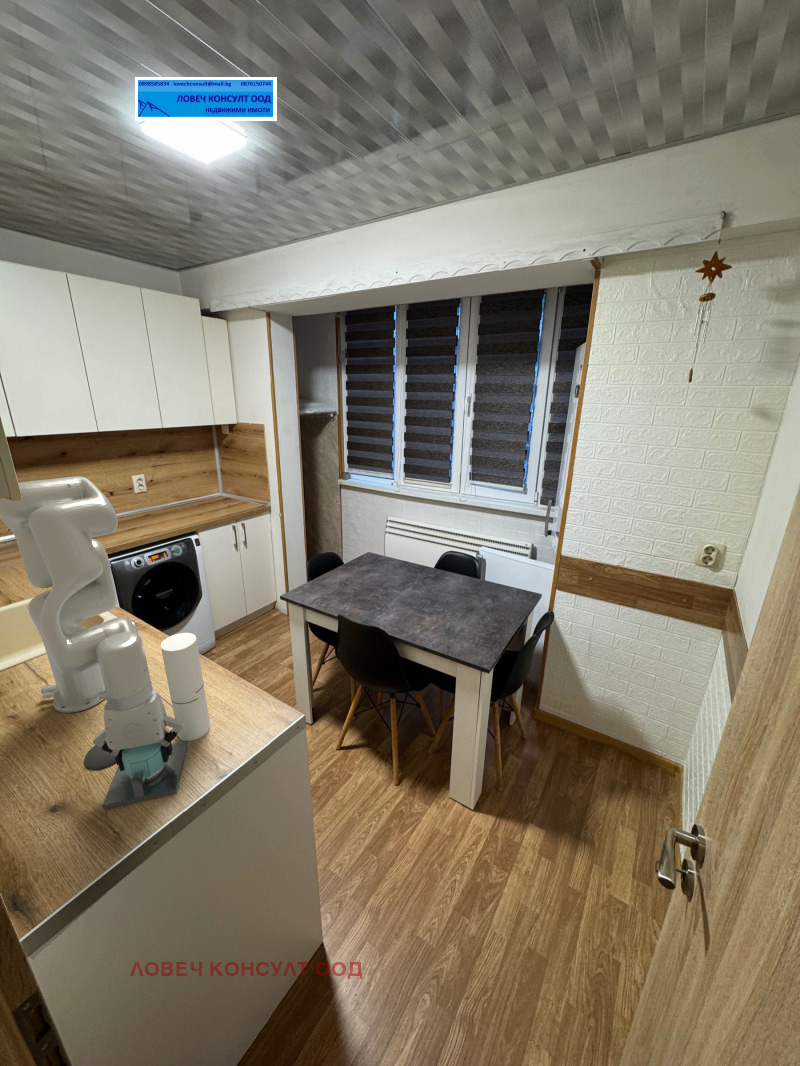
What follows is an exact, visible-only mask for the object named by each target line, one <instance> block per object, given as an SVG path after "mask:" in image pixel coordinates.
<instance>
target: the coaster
mask: <svg viewBox="0 0 800 1066" xmlns="http://www.w3.org/2000/svg"><path fill="white" fill-rule="evenodd" d="M84 764H85V767H87V768H88V769H90V770H102V769H105V768H108V767H111V766H113V765H114V764H116V760H115V757H113V756H111V753H109V752H107V751H104V750H102V747H99V746H97V745H95V744H94V745H93V746H92V747H91V748H90V749H89V750H88V751H87V752H86V754H85V756H84Z"/></svg>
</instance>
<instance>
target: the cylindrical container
mask: <svg viewBox="0 0 800 1066" xmlns="http://www.w3.org/2000/svg"><path fill="white" fill-rule="evenodd" d="M197 639H198V638H197V636H196V634H194V633H191V632H181V633H175V634H173V635H170V636H168V637H166V638H164V639H163V640H162V642H161V643H160V648H161V655H162V660H163V666H164V670H165V675H166V679H167V685H168V690H169V694H170V695H169V697H170V700H171V705H172V706H171V707H172V711H173V712H172V713H173V715H174V717H173V718H174V719H177V720H180V721H183V722H184V724H183V727H182V729H181V730H180V732H179V733H178V734H177V736H178V738H179V739H180V740H181V741H188V742H192V741H195V740H198V739H200V738H202V737H203V736H205V735H206V734H207V733H208V732H209V730H210V729H211V721H210V716H209V715H210V714H209V708H208V703H207V696H206V689H205V685H204V678H203V671H202V666H201V659H200V652H199V647H198V641H197Z"/></svg>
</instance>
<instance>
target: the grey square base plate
mask: <svg viewBox="0 0 800 1066" xmlns="http://www.w3.org/2000/svg"><path fill="white" fill-rule="evenodd" d="M188 742H189V741H184V740H182V741H179V742H174V743H171V744H172V755H169V759H168V762H165V765H164V766H163V767H162V768H161V769H160V770H158V771H157V772H156V773H154V774H153V775H152V776H150V777H146V778H145V779H144V782H143V780H142V779H143V776H144V771H141V772H136V773H134V776H133V778H131V777H129V776H128V775H127V774H126V773H125V770H124V771H120V768H119V765H117V768H116V771H115V774H114V777H113V779H112V781H111V783H110V784H109V785H110V786H109V788H108V791H107V793H106V795H105V798H104V801H103V802H102V809H103V810H104V811H105V810H110V809H114V808H118V807H124V806H129V805H132V804H137V803H141V802H146V801H151V800H156V799H160V798H165V797H168V796H174V795H177V794H178V789H179V784H180V781H181V780H180V779H181V776H182V774H183V773H182V772H183V769H184V765H185V759H186V755H187V752H188V747H189V743H188Z"/></svg>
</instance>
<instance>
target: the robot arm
mask: <svg viewBox="0 0 800 1066" xmlns="http://www.w3.org/2000/svg"><path fill="white" fill-rule="evenodd" d="M17 483H18V484H19V488H20V492H21V496H22V499H21V500H20V501H12V500H9V499H0V520H1V522H3V523H4V525H5V526H7V528H9V530H10V531H11V532H12V535H14V538H15V541H16V543H17V546H18V551H19V554H20V558H21V561H22V564H23V567H24V570H25V573H26V576H27V578H28V581H29V582H30V583H31V585H32V586H33V587H35V588H38V589H48V590H47V591H43V592H41V593H39V594H37V595H35V596H34V597H33V598H31V600H30V601H29V603H28V606H27V609H28V614H29V616H30V618H31V620H32V621H33V624H34V625H35V627H36V629H37V631H38V633H39V635H40V638H41V641H42V643H43V646H44V650H45V653H46V655H47V659H48V662H49V665H50V669H51V673H52V676H53V679H54V681H55V684H54V685H47V686H46V685H45V686H41V689H40V693H41V695H42V696H41V698H42V699H43V700H44V699H50V698H53V699H54V700H53V707H54V709H55V710H56V711H58V712H60V713H63V714H64V713H66V714H68V713H69V714H71V713H77V712H82V711H84V710H87V709H90V708H92V707H94V706H96V705H98V704H99V703H101V702H102V701H104V700H105V701H106V703H105V704H104V706H103V707H104V708H103V723H104V724H103V725H104V729H103V730H102V731H101V732H99V733H98V734H97V735H96V736H95V737H94V739H93V740H92V744H94V746H95V745H97V746H99V747H102V750H104V751H107V752H109V753H111V756H113V757H115V760H116V763H115V764H116V766H119V768H120V771H124V770H125V769H124V765H123V761H122V749H126V748H132V747H137V746H143V745H148V744H153V743H157V742H159V743H160V744H161V745H162V746H161V753H162V757H163V762H168V759H169V755H172V744H173V743H172V742H173V740H174V739H176V738H177V736H178V733H179V732H180V730H181V729H182V727H183V724H184V722H183V721H180V720H177V719H175V717H171V716H168V715H167V711H166V709H165V705H164V703H163V701H162V698H161V696H160V695H159V693H158V691H157V689H156V688H153V685H152V684H153V683H152V680H151V675H150V669H149V666H148V659H147V655H146V651H145V646H144V641H143V638H142V637H141V636H140V633H139V630H138V627H137V625H136V623H135V621H133V620H131V619H129V617H126V616H120V617H119V616H118V617H116V618H112V619H109V620H106V621H104V622H100V623H99V624H95V625H92V626H89V627H85V626H83V625H81V624H78V623H80V622H82V621H84V620H87V619H90V618H92V617H95V616H98V615H101V614H104V613H107V612H109V611H111V610H112V609H114V608H115V606H116V605H117V600H118V598H117V592H116V586H115V581H114V577H113V573H112V567H111V564H110V560H109V559H110V558H109V556H108V553H107V551H106V549H105V547H104V546H103V545H102V543H101V542H100V541H98V540H97V539H94V538H96V537H100V536H106V535H110V534H113V533H115V531H116V530H117V529H118V525H119V522H118V521H119V520H118V516H117V513H116V511H115V508H114V507H113V505H112V503H111V502H110V500H109V499H108V498H107V497H106V495H105V494H104V493H103V492H102V491H101V490H100V489H99V488H98V487H97V486H96V485H95V484H94V483H93V482H92V481H91V480H90V479H88V478H87V477H84V476H77V475H75V476H67V477H65V476H64V477H58V478H57V477H56V478H50V479H49V478H47V479H39V480H30V481H22V482H17ZM50 588H51V589H50ZM49 589H50V590H49ZM166 727H169V728H171V730H170V731H169V730H168V728H166Z"/></svg>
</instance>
